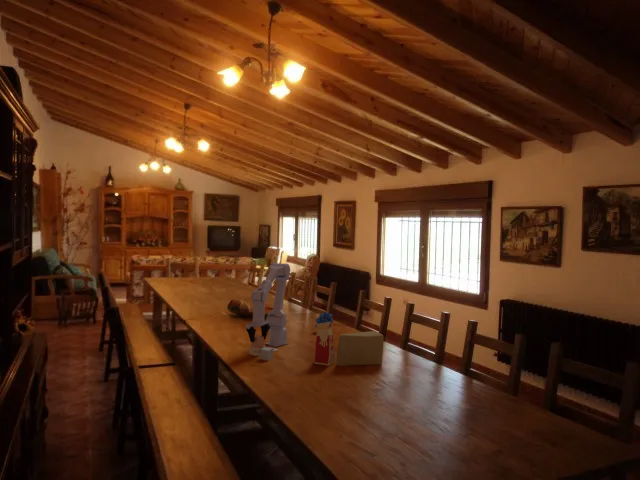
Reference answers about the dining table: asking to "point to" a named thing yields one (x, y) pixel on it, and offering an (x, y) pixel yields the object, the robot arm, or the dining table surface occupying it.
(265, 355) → the grey painted block
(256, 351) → the birch base block
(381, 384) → the dining table surface
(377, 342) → the cheese
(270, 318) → the robot arm
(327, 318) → the grapes
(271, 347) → the tile
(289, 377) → the dining table surface
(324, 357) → the milk carton
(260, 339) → the terracotta block
